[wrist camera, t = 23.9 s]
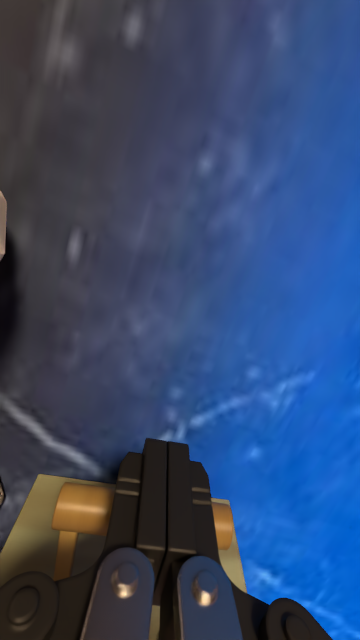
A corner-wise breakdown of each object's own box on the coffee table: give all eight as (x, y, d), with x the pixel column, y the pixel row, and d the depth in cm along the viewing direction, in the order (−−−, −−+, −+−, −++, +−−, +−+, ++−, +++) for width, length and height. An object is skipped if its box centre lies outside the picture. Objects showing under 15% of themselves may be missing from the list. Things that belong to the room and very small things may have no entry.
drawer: (44, 395, 14) (-73, 579, 7) (257, 431, 15) (327, 618, 8) (28, 591, 19) (-47, 801, 13) (185, 606, 21) (193, 806, 14)
